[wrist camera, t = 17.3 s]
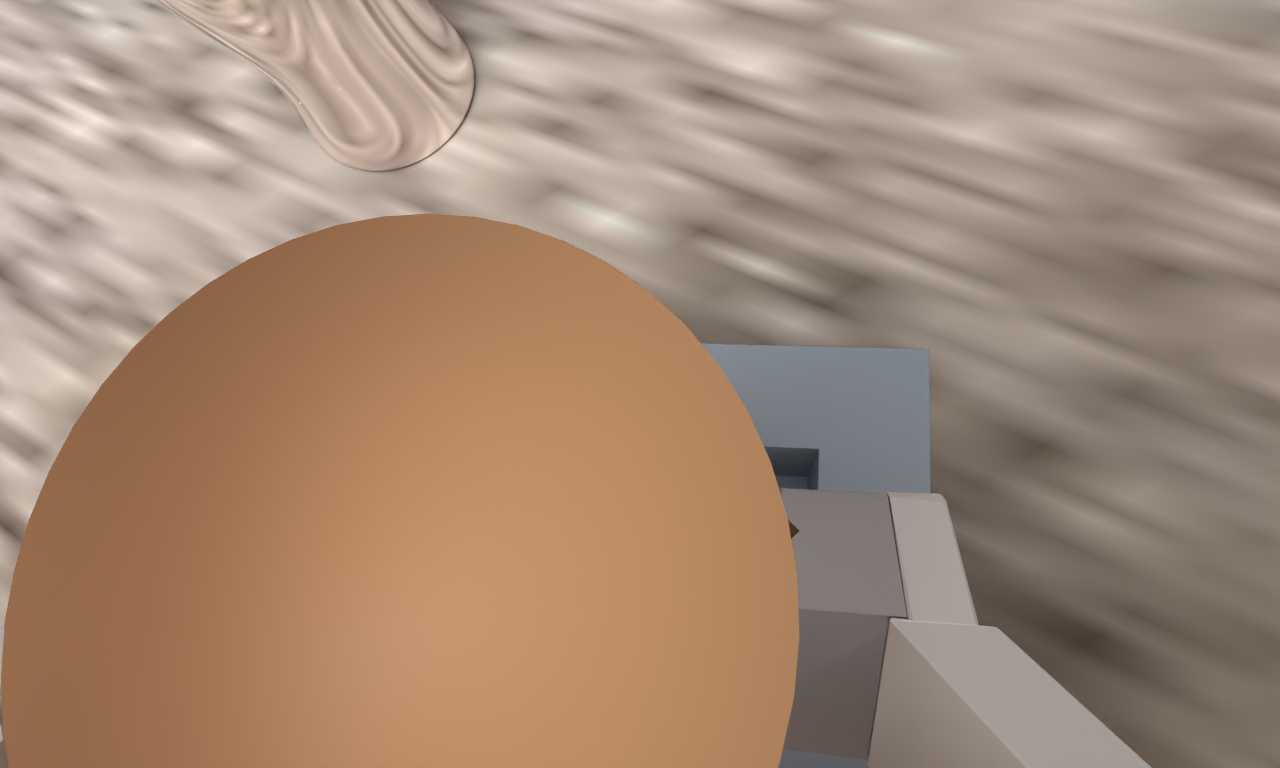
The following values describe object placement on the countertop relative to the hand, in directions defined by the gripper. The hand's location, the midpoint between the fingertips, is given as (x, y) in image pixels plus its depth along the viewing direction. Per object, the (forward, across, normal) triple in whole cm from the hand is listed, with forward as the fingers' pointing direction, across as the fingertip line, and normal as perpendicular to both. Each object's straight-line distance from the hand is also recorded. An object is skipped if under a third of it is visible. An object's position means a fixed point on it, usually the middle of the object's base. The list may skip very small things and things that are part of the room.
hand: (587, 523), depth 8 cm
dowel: (+3, 0, +4) cm, 5 cm away
